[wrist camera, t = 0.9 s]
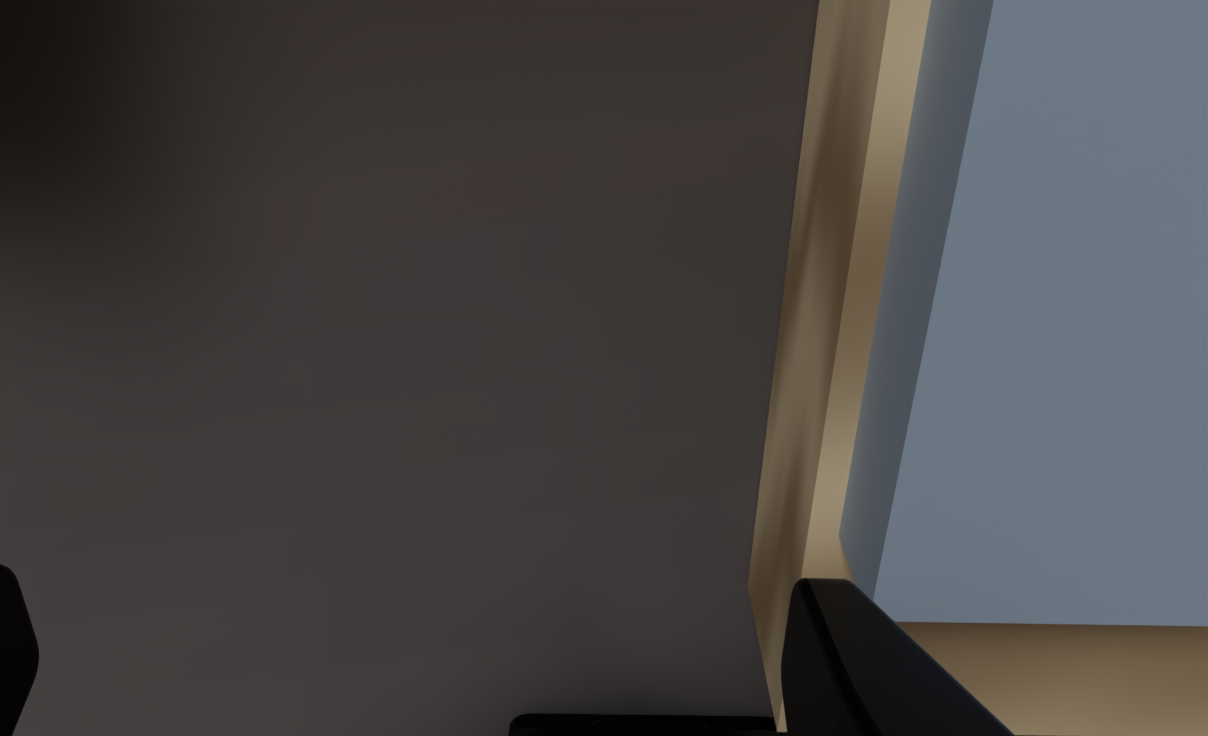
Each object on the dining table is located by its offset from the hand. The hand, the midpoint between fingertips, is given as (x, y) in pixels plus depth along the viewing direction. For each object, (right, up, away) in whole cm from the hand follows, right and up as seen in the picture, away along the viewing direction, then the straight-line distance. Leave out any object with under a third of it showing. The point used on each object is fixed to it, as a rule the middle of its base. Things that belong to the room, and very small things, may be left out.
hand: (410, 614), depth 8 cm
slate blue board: (+8, +3, +6) cm, 11 cm away
